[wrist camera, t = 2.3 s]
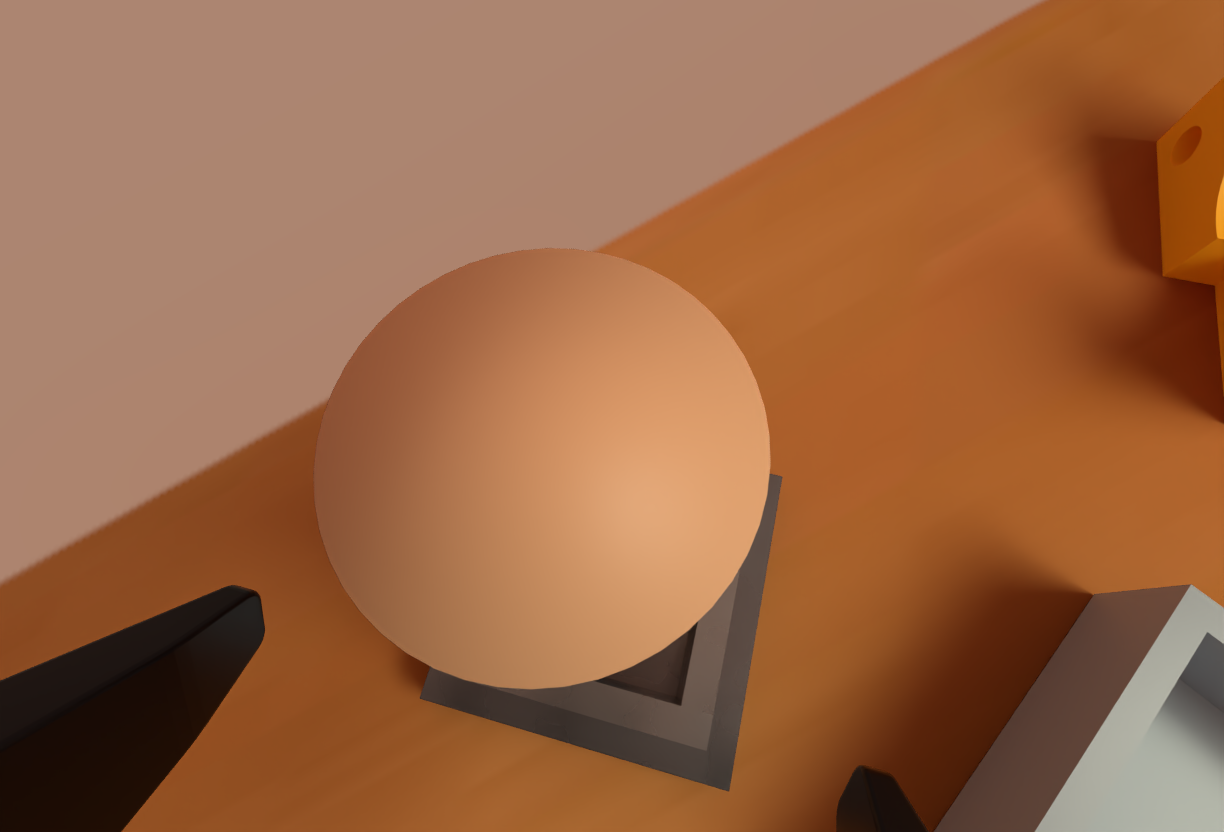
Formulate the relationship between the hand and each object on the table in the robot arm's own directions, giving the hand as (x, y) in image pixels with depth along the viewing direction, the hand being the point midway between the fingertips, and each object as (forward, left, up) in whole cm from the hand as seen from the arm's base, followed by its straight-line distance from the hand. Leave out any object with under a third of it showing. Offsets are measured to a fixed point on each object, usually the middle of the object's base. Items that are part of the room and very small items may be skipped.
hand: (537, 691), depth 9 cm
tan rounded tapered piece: (+2, +1, -9) cm, 10 cm away
